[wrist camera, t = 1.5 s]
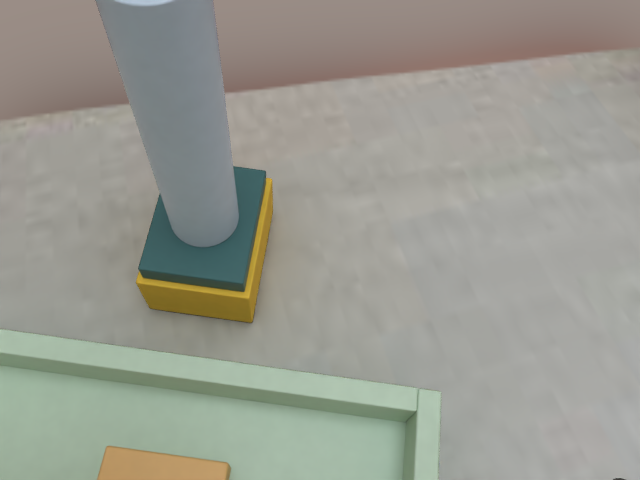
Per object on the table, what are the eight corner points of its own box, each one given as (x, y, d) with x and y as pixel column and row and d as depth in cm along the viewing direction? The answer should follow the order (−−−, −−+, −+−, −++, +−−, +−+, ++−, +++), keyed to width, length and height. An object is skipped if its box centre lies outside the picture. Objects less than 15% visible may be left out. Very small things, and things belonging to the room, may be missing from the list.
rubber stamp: (252, 323, 24) (222, 70, 11) (149, 308, 24) (3, 39, 11) (273, 211, 26) (267, -104, 13) (179, 198, 26) (85, -130, 13)
